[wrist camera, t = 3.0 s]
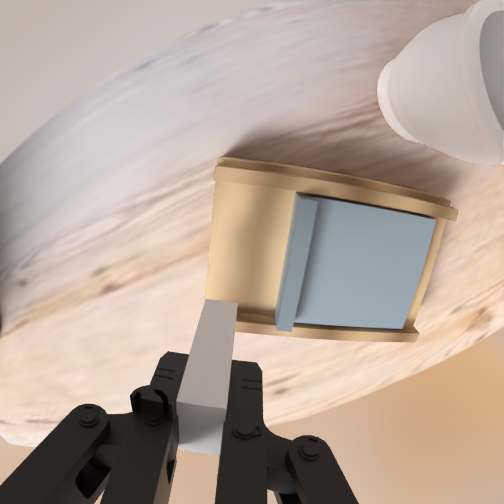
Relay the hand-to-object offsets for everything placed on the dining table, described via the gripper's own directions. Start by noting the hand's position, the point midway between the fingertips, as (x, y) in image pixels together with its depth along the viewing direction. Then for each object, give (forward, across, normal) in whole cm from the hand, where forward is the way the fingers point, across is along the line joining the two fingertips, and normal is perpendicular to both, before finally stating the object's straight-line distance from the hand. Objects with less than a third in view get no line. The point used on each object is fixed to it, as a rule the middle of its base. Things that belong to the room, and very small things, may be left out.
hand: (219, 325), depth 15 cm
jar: (+15, +14, +16) cm, 26 cm away
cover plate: (+11, +10, 0) cm, 15 cm away
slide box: (+14, +8, 0) cm, 16 cm away
